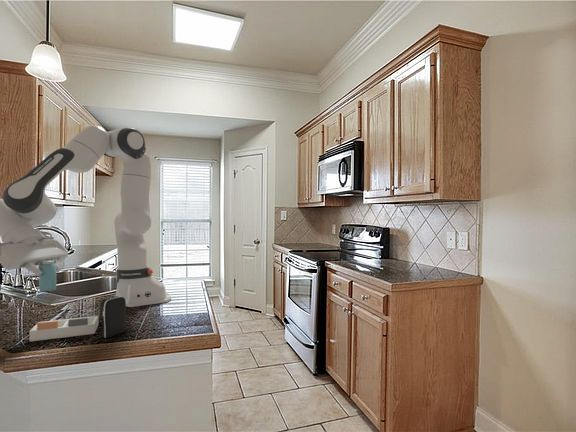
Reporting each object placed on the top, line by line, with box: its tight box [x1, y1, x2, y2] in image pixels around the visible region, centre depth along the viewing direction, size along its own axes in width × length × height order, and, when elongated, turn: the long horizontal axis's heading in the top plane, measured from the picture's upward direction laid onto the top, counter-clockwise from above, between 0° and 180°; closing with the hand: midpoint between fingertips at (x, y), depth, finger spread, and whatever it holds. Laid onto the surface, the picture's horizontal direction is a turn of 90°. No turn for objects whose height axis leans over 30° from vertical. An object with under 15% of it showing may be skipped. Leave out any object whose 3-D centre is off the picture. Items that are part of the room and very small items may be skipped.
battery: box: [99, 295, 127, 339], centre depth 104 cm, size 7×4×11 cm, turn 155°
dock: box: [29, 315, 99, 342], centre depth 105 cm, size 16×9×5 cm, turn 112°
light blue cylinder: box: [38, 260, 57, 292], centre depth 107 cm, size 4×4×9 cm
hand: (49, 272), depth 106 cm, fingers closed on light blue cylinder, 4 cm apart
